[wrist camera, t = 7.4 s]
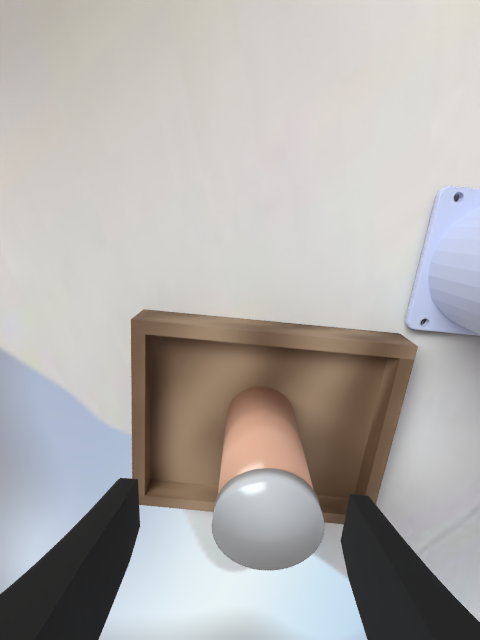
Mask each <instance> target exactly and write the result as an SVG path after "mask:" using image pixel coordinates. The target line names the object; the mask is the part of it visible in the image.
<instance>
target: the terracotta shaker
mask: <svg viewBox="0 0 480 640" xmlns="http://www.w3.org/2000/svg"><path fill="white" fill-rule="evenodd" d="M212 533H213V537H214V540H215V542H216V544H217V545H218V547H219V549H220V550H221V551H222V552H223V553H224V554H225V555H226V556H227V557H228V558H230V559H231V560H233V561H234V562H236V563H238V564H240V565H243V566H245V567H248V568H252V569H257V570H279V569H284V568H288V567H291V566H294V565H296V564H299V563H300V562H302V561H304V560H305V559H307V558H308V557H309V556H311V555H312V554H313V553H314V552H315V550H316V549H317V548H318V546H319V545H320V543H321V541H322V538H323V534H324V519H323V515H322V512H321V508H320V504H319V501H318V497H317V495H316V493H315V492H314V490H313V486H312V482H311V478H310V474H309V470H308V466H307V462H306V458H305V454H304V450H303V446H302V442H301V438H300V434H299V430H298V426H297V422H296V418H295V415H294V411H293V407H292V405H291V403H290V401H289V400H288V399H287V398H286V396H284V395H283V394H282V393H280V392H279V391H277V390H275V389H272V388H268V387H252V388H249V389H246V390H244V391H242V392H240V393H239V394H238V395H236V396H235V397H234V398H233V400H232V401H231V403H230V404H229V407H228V410H227V417H226V426H225V435H224V444H223V453H222V462H221V471H220V480H219V489H218V495H217V498H216V500H215V504H214V512H213V520H212Z"/></svg>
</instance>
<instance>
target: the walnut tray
mask: <svg viewBox="0 0 480 640" xmlns="http://www.w3.org/2000/svg"><path fill="white" fill-rule="evenodd" d="M417 348H418V346H416V345H415V344H414V343H412V342H411V341H409V340H408V339H407V338H405V337H404V336H402V335H401V334H398V333H387V332H377V331H366V330H355V329H345V328H334V327H324V326H313V325H302V324H292V323H281V322H270V321H260V320H249V319H239V318H228V317H217V316H207V315H196V314H185V313H175V312H164V311H154V310H143V311H141V312H140V313H139V314H137V315H136V316H135V317H134V318H132V319H131V372H132V475H133V476H132V479H138V490H139V505H148V506H158V507H169V508H179V509H190V510H200V511H211V512H214V504H215V500H216V498H217V495H218V489H219V480H220V471H221V462H222V453H223V444H224V435H225V426H226V417H227V410H228V407H229V404H230V403H231V401H232V400H233V398H234V397H235V396H236V395H238V394H239V393H240V392H242V391H244V390H246V389H249V388H252V387H268V388H272V389H275V390H277V391H279V392H280V393H282V394H283V395H284V396H286V398H287V399H288V400H289V401H290V403H291V405H292V407H293V411H294V415H295V418H296V422H297V426H298V430H299V434H300V438H301V442H302V446H303V450H304V454H305V458H306V462H307V466H308V470H309V474H310V478H311V482H312V486H313V490H314V492H315V493H316V495H317V497H318V501H319V504H320V508H321V512H322V515H323V519H324V522H327V523H337V524H344V522H345V517H346V512H347V507H348V502H349V497H350V494H353V495H367V496H369V497H370V498H371V500H372V501H373V502H374V503H375V504H376V501H377V497H378V493H379V489H380V486H381V482H382V478H383V475H384V471H385V467H386V463H387V460H388V456H389V452H390V448H391V445H392V441H393V437H394V434H395V430H396V426H397V422H398V419H399V415H400V411H401V407H402V404H403V400H404V396H405V392H406V389H407V385H408V381H409V378H410V374H411V370H412V366H413V363H414V359H415V355H416V351H417Z"/></svg>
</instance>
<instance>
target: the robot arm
mask: <svg viewBox="0 0 480 640" xmlns="http://www.w3.org/2000/svg"><path fill="white" fill-rule="evenodd" d="M456 193H457V194H458V195H459V199H458V201H457V202H455V201H454V200H453V199H454V195H455V194H456ZM422 319H426V322H425V323H424V324H423V325H420V322H421V320H422ZM405 323H406V325H407V326H408V327H409V328H411V329H414V330H424V331H435V332H445V333H456V334H467V335H477V336H480V189H473V188H463V187H452V186H451V187H444V188H442V189H441V190H440V191H439V192H438V193H437V195H436V199H435V203H434V207H433V211H432V215H431V219H430V223H429V227H428V231H427V235H426V239H425V243H424V247H423V251H422V255H421V259H420V263H419V267H418V271H417V275H416V279H415V283H414V287H413V291H412V295H411V299H410V303H409V307H408V311H407V315H406V319H405ZM139 527H140V518H139V490H138V479H127V478H120V479H119V480H118V481H116V482H115V484H114V485H113V486H112V487H111V488H110V489H109V490H108V491H107V492H106V494H105V495H104V496H103V497H102V498H101V499H100V500H99V501H98V502H97V504H95V505H94V507H93V508H92V509H91V510H90V511H89V512H88V513H87V514H86V515H85V516H84V517H83V518H82V519H81V520H80V521H79V522H78V523H77V524H76V525H75V526H74V527H73V528H72V529H71V530H70V532H68V533H67V534H66V535H65V536H64V538H62V539H61V540H60V541H59V542H58V543H57V544H56V545H55V546H54V547H53V548H52V549H51V550H50V551H49V552H48V553H46V554H45V555H44V557H42V558H41V559H40V560H39V561H38V562H37V563H36V564H35V565H34V566H32V567H31V568H30V569H29V570H28V571H27V572H26V573H25V574H24V575H22V576H21V577H20V578H19V579H18V580H17V581H16V582H14V583H13V584H12V585H11V586H10V587H9V588H7V589H6V590H5V591H4V592H2V593H1V594H0V640H98V639H99V637H100V634H101V632H102V629H103V627H104V624H105V622H106V619H107V617H108V614H109V612H110V609H111V607H112V604H113V602H114V599H115V597H116V595H117V592H118V589H119V587H120V584H121V582H122V579H123V577H124V574H125V572H126V569H127V567H128V564H129V562H130V558H131V555H132V552H133V548H134V545H135V541H136V538H137V534H138V531H139ZM341 544H342V549H343V554H344V559H345V564H346V569H347V573H348V578H349V581H350V584H351V588H352V591H353V594H354V597H355V601H356V604H357V607H358V610H359V614H360V617H361V620H362V623H363V626H364V630H365V633H366V636H367V639H368V640H480V622H479V621H478V620H477V619H476V618H475V617H474V616H473V615H472V614H471V613H470V612H469V611H468V610H467V609H466V608H465V607H464V606H463V605H462V604H461V603H460V602H459V601H458V600H457V599H456V598H455V597H454V596H453V595H452V594H451V592H450V591H449V590H448V589H447V588H446V587H445V586H444V585H443V584H442V583H441V582H440V581H439V580H438V578H437V577H436V576H435V575H434V574H433V573H432V572H431V571H430V569H429V568H428V567H427V566H426V565H425V564H424V563H423V561H422V560H421V559H420V558H419V557H418V556H417V554H416V553H415V552H414V551H413V550H412V549H411V547H410V546H409V545H408V544H407V543H406V542H405V540H404V539H403V538H402V537H401V535H400V534H399V533H398V532H397V531H396V529H395V528H394V527H393V526H392V524H391V523H390V522H389V521H388V520H387V518H386V517H385V516H384V515H383V513H382V512H381V511H380V510H379V508H378V507H377V506H376V505H375V503H374V502H373V501H372V500H371V498H370V497H369V496H367V495H353V494H350V497H349V502H348V507H347V512H346V517H345V522H344V527H343V532H342V537H341Z"/></svg>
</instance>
